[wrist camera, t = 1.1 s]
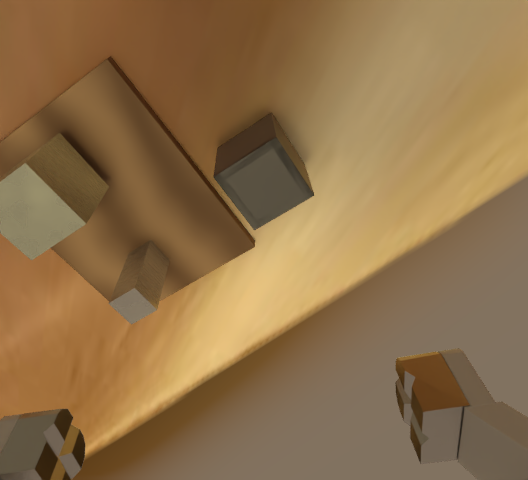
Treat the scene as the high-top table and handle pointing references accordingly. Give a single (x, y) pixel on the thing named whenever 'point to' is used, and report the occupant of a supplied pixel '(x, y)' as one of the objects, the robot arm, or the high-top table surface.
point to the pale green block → (48, 197)
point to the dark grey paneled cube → (262, 172)
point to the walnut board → (132, 185)
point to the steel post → (140, 282)
